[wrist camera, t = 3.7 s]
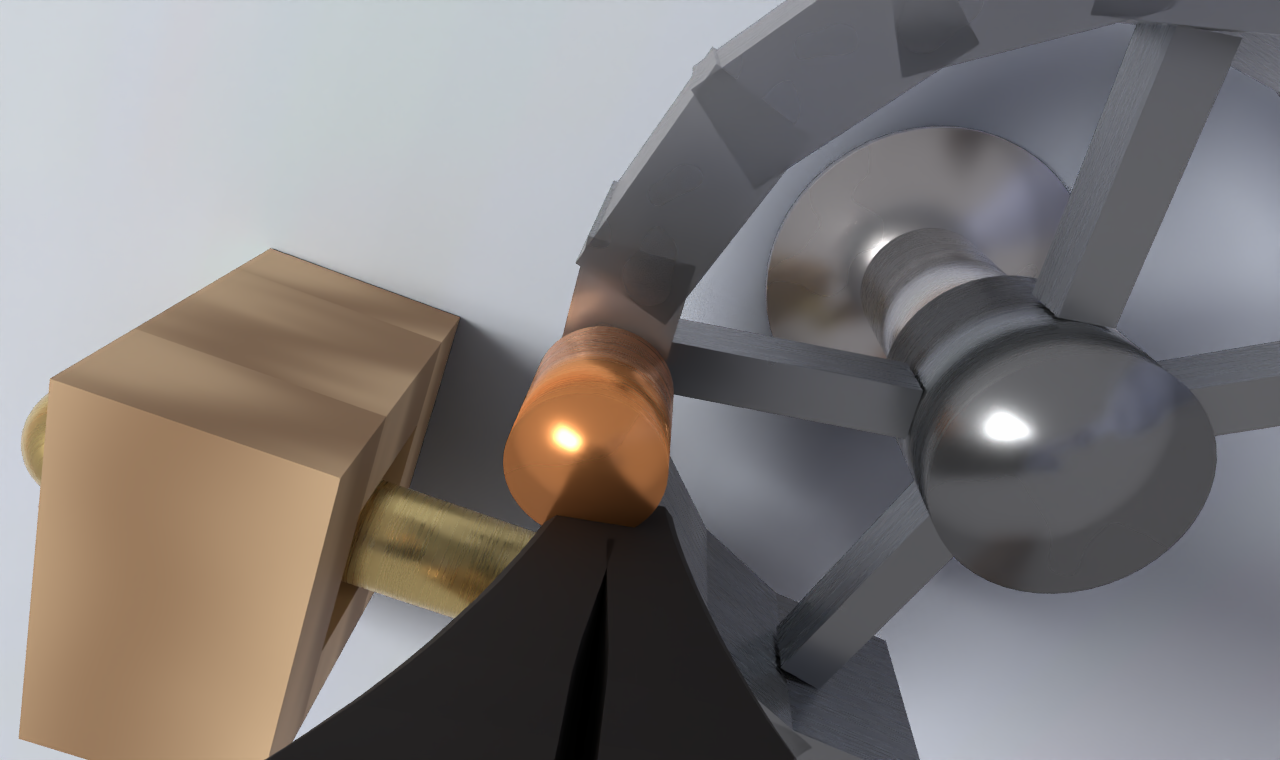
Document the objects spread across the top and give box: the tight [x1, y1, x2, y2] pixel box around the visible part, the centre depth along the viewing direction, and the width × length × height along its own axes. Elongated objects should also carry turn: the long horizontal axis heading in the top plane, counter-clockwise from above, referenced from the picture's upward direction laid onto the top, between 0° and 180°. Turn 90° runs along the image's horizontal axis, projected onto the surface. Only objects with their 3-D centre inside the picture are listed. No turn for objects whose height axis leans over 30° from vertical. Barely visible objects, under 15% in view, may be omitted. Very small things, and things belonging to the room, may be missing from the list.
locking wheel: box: [503, 0, 1280, 760], centre depth 10 cm, size 10×12×5 cm
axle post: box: [765, 126, 1070, 359], centre depth 15 cm, size 6×6×4 cm
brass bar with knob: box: [21, 393, 536, 618], centre depth 15 cm, size 13×4×6 cm, turn 70°
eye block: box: [19, 248, 460, 760], centre depth 16 cm, size 4×7×6 cm, turn 160°
